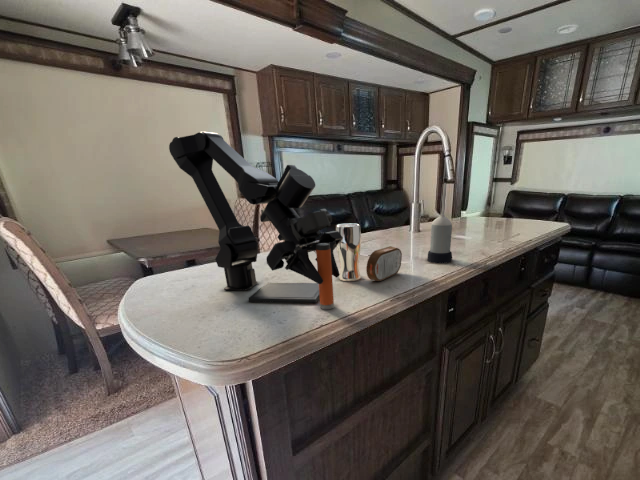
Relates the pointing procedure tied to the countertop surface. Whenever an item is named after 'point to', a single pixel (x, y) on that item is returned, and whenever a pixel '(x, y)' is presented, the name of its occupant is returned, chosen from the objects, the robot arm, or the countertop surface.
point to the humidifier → (441, 237)
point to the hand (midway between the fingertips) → (330, 279)
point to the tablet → (287, 293)
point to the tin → (384, 263)
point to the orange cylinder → (325, 275)
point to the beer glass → (349, 251)
